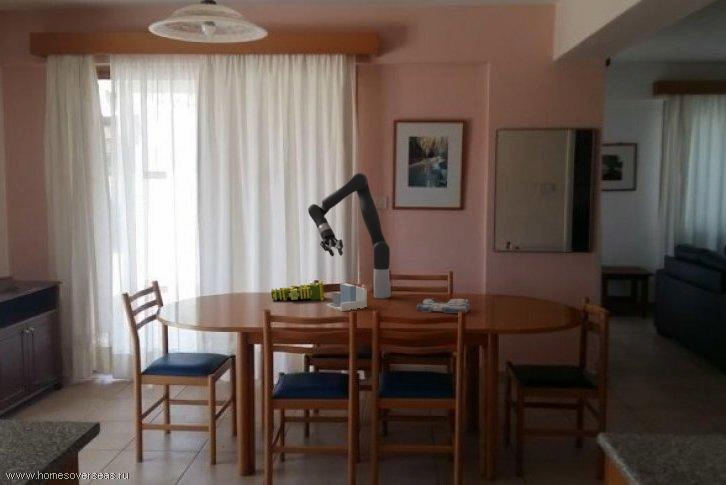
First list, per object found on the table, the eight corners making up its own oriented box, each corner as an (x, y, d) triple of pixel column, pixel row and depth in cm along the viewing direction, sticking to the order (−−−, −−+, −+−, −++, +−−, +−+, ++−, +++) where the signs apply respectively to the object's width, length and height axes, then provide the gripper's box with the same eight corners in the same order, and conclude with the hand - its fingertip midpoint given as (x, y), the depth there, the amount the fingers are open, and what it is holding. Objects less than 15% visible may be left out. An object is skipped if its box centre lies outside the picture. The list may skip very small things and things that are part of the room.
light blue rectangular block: (346, 302, 346) (346, 283, 344) (356, 305, 337) (356, 285, 336) (340, 303, 343) (340, 283, 342) (350, 306, 335) (349, 286, 334)
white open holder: (351, 302, 351) (351, 285, 350) (366, 307, 338) (366, 289, 337) (327, 306, 343) (326, 288, 342) (341, 311, 329) (341, 292, 328)
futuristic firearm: (474, 306, 336) (464, 317, 318) (425, 303, 347) (413, 314, 329) (473, 296, 335) (463, 306, 317) (424, 294, 346) (412, 304, 328)
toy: (272, 284, 368) (322, 279, 371) (273, 301, 370) (323, 296, 372) (270, 289, 352) (322, 284, 354) (272, 306, 353) (324, 301, 355)
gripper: (317, 229, 350) (328, 252, 341) (339, 227, 357) (350, 249, 349) (313, 237, 355) (324, 260, 346) (334, 235, 362) (345, 258, 354)
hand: (337, 255), depth 347 cm, fingers open, 5 cm apart
